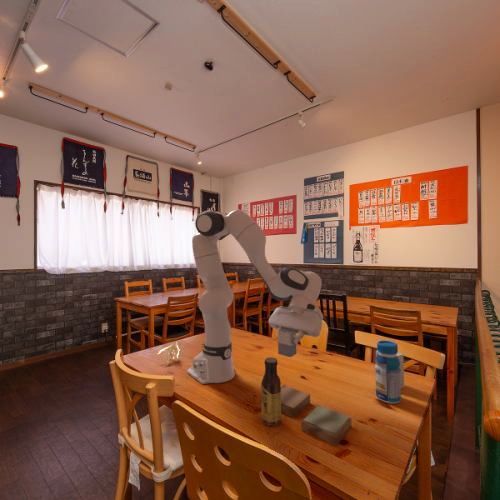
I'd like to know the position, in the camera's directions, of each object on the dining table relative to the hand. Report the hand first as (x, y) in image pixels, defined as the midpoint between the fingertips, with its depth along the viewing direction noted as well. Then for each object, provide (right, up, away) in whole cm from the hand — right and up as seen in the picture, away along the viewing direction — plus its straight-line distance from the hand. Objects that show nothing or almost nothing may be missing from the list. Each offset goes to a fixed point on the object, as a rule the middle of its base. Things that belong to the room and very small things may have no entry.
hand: (286, 341), depth 97 cm
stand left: (+1, -22, 0) cm, 22 cm away
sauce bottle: (-6, -22, -10) cm, 25 cm away
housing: (0, -5, 0) cm, 5 cm away
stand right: (+11, -22, -13) cm, 28 cm away
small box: (+43, -22, +13) cm, 50 cm away
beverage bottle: (+38, -22, +3) cm, 44 cm away
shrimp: (-52, -24, +40) cm, 70 cm away
